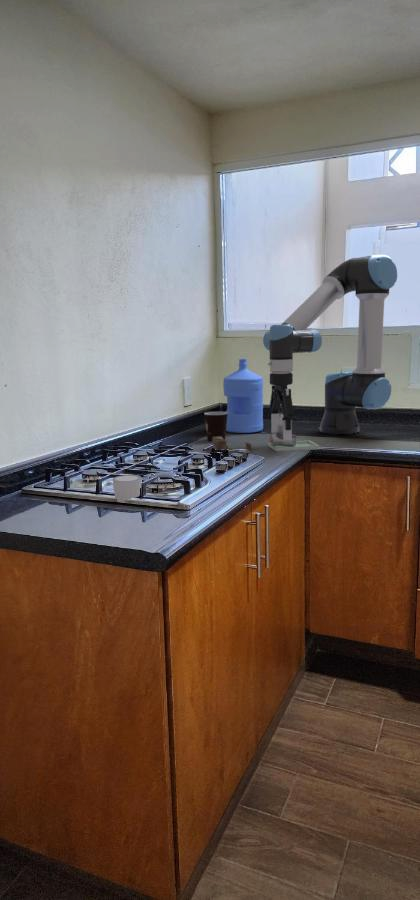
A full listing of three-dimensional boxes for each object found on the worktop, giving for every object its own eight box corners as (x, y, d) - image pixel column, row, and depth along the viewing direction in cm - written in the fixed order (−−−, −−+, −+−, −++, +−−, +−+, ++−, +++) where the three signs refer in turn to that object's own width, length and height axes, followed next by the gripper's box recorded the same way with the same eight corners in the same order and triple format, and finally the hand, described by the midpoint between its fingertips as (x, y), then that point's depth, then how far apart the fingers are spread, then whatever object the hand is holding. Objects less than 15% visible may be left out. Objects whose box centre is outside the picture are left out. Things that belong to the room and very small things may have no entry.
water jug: (245, 425, 251) (244, 357, 245) (271, 430, 238) (271, 358, 233) (216, 429, 241) (214, 359, 236) (241, 435, 229) (240, 361, 223)
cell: (285, 433, 202) (291, 410, 197) (288, 439, 198) (294, 416, 194) (274, 432, 201) (279, 409, 196) (277, 438, 197) (283, 415, 193)
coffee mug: (225, 442, 215) (225, 415, 213) (202, 442, 216) (201, 415, 214) (231, 436, 226) (231, 410, 224) (208, 436, 227) (208, 410, 225)
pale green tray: (309, 444, 209) (309, 440, 209) (319, 449, 200) (319, 445, 199) (268, 446, 206) (268, 442, 206) (276, 452, 197) (276, 448, 197)
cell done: (294, 433, 203) (269, 431, 202) (297, 437, 200) (272, 435, 198) (291, 444, 205) (267, 442, 203) (295, 448, 201) (270, 447, 199)
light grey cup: (129, 500, 146) (127, 473, 145) (149, 505, 142) (147, 477, 141) (107, 507, 141) (106, 479, 140) (127, 513, 137) (126, 483, 136)
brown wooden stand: (246, 447, 205) (246, 433, 204) (253, 453, 197) (253, 438, 196) (212, 449, 203) (212, 435, 202) (217, 455, 195) (217, 440, 194)
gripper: (260, 370, 208) (260, 430, 213) (281, 376, 184) (281, 443, 189) (281, 369, 210) (281, 429, 214) (304, 375, 186) (304, 442, 190)
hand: (281, 436), depth 202 cm, fingers open, 13 cm apart
